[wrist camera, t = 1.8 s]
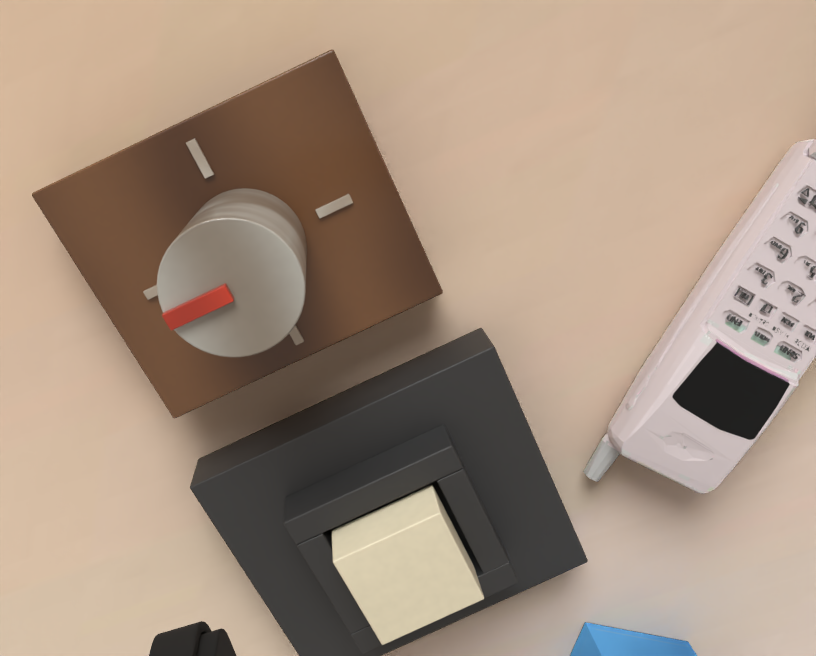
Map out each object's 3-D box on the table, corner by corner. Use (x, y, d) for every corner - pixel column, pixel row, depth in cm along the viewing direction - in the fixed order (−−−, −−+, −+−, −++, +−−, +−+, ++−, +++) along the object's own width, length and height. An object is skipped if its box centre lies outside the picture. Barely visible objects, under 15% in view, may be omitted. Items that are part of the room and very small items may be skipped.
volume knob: (273, 168, 27) (262, 194, 21) (326, 273, 29) (330, 324, 23) (165, 219, 27) (125, 259, 22) (224, 321, 29) (201, 384, 23)
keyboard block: (481, 326, 33) (506, 363, 29) (571, 531, 37) (604, 589, 33) (197, 458, 33) (181, 514, 29) (317, 646, 38) (317, 719, 33)
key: (432, 483, 31) (440, 512, 29) (474, 566, 32) (485, 599, 30) (330, 529, 31) (332, 562, 29) (377, 610, 32) (382, 646, 30)
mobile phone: (1139, 30, 26) (725, 581, 32) (995, 40, 32) (664, 507, 37) (1024, -67, 25) (612, 529, 30) (894, -38, 30) (566, 459, 36)
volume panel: (331, 50, 29) (333, 48, 26) (434, 277, 32) (444, 294, 30) (53, 184, 29) (28, 194, 26) (183, 394, 32) (172, 421, 30)
